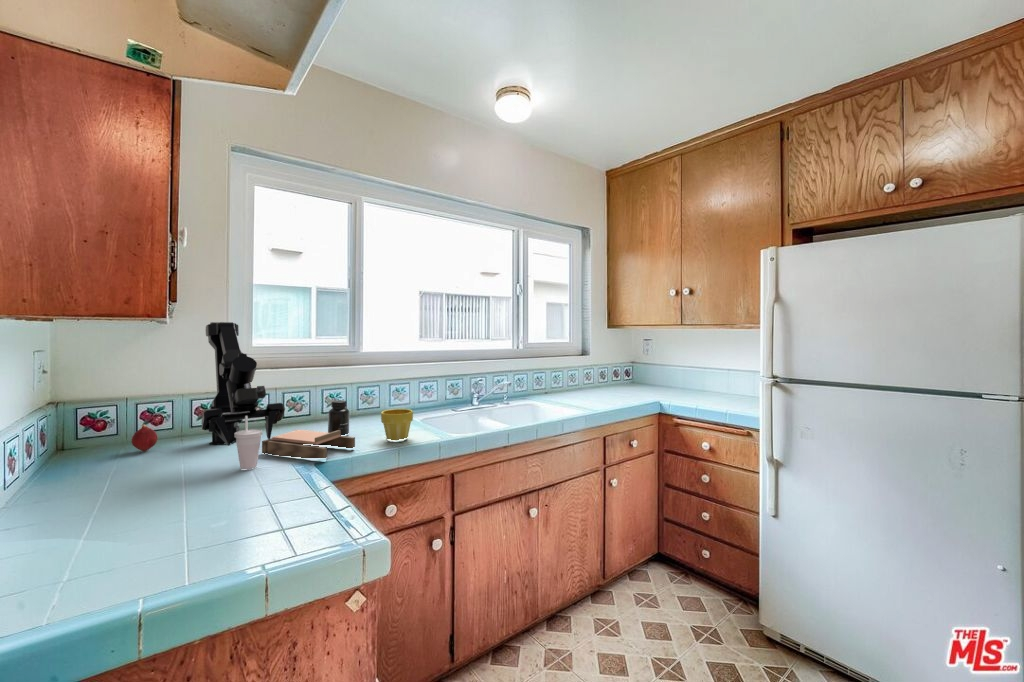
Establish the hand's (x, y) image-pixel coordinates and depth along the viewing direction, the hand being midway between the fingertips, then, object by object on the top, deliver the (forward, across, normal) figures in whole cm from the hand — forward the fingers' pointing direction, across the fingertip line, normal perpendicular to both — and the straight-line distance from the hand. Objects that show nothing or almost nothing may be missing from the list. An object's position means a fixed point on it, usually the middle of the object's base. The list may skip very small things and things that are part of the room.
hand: (249, 441), depth 112 cm
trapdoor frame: (+1, +17, +9) cm, 19 cm away
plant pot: (+4, +44, +7) cm, 44 cm away
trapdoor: (-1, +16, +9) cm, 19 cm away
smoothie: (+4, 0, +6) cm, 8 cm away
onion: (-21, -20, +32) cm, 43 cm away
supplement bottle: (-9, +31, +20) cm, 38 cm away
